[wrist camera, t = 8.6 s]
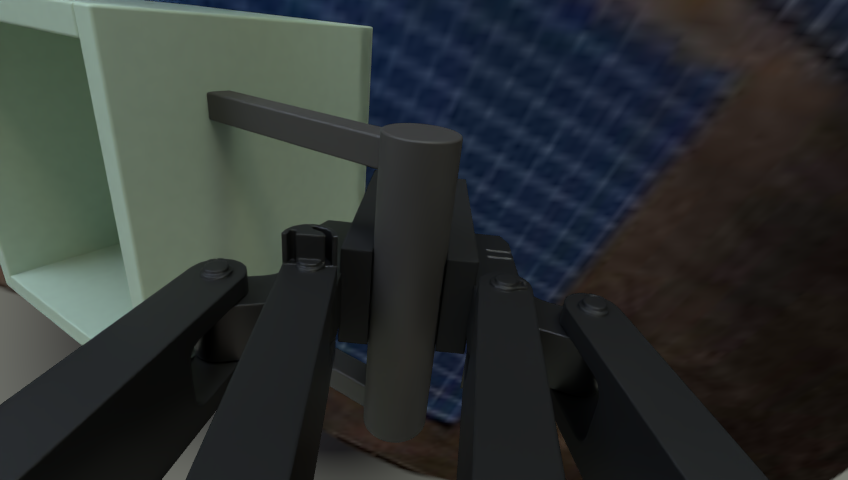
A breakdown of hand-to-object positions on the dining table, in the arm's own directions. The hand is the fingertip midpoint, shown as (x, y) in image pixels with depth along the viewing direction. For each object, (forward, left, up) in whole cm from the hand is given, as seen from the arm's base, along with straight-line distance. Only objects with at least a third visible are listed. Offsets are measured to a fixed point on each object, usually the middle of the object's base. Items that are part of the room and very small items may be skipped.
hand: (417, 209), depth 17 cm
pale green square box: (+4, 0, -5) cm, 6 cm away
